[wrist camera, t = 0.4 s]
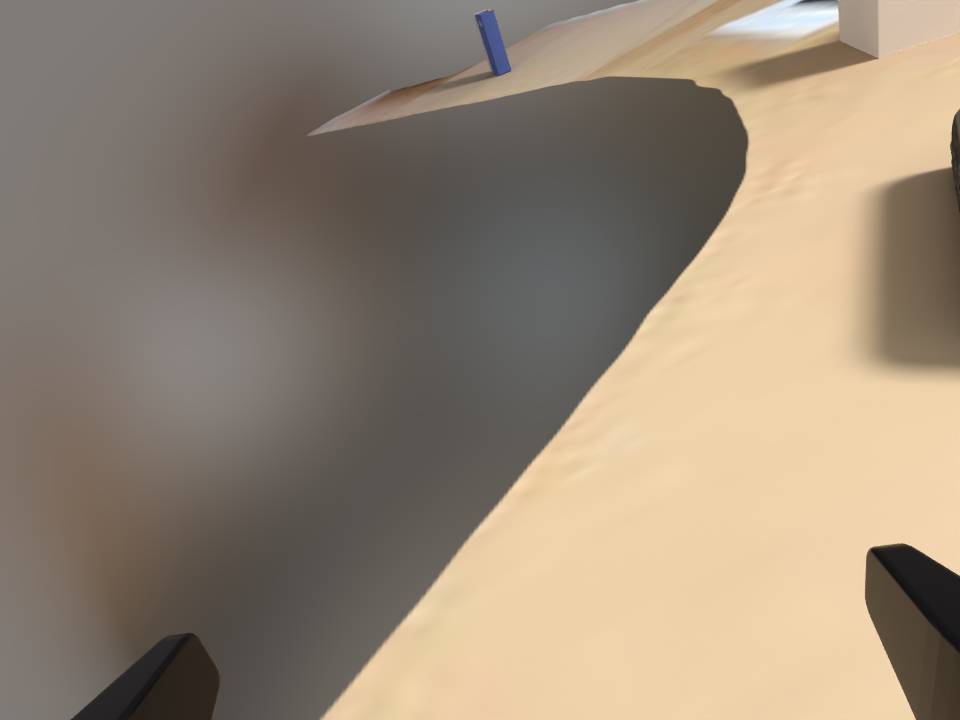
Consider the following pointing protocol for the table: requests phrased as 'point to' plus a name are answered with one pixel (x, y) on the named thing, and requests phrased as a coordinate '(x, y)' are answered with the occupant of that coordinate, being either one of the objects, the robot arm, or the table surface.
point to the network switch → (956, 153)
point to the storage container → (896, 24)
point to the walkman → (492, 41)
